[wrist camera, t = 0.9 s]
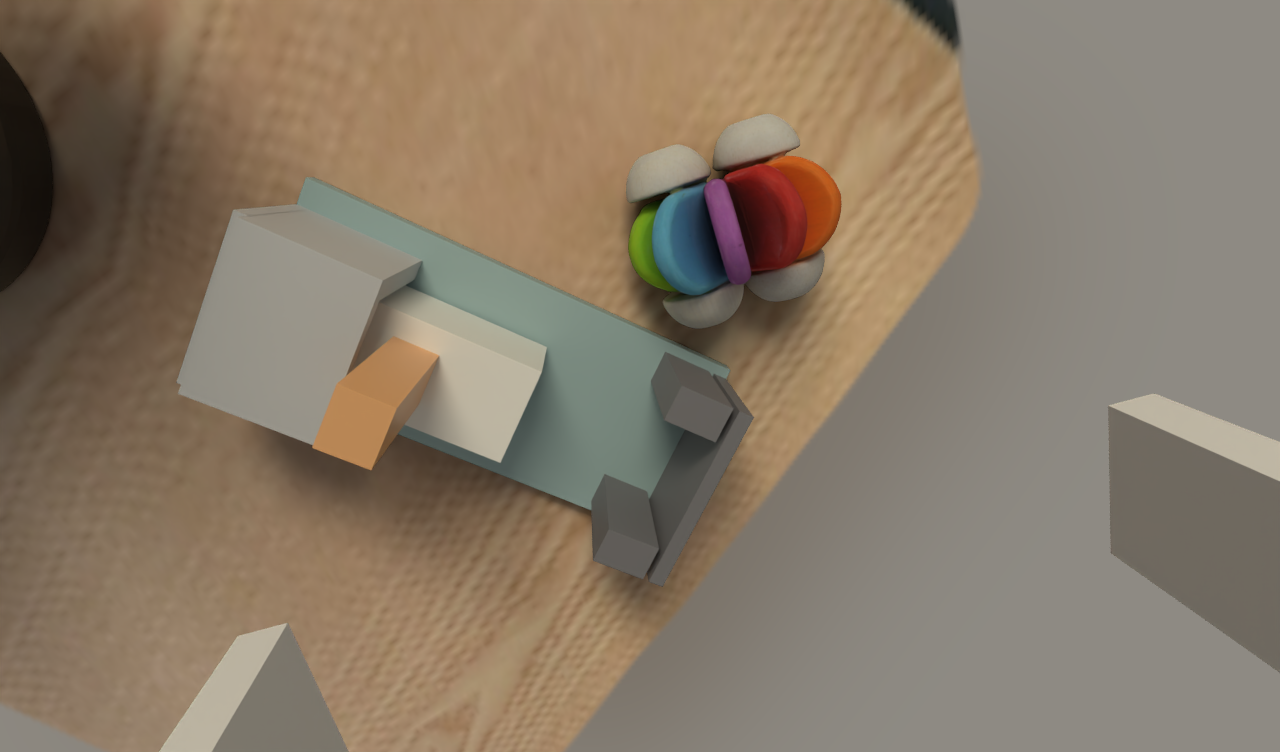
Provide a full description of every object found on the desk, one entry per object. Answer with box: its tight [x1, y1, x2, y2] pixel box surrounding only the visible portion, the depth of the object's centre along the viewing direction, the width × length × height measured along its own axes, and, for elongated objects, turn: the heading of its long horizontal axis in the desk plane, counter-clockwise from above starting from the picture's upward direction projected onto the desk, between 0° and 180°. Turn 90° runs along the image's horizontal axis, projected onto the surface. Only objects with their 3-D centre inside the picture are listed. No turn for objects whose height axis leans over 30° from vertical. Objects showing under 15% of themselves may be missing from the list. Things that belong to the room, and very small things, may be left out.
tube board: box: [176, 177, 754, 587], centre depth 32 cm, size 22×10×8 cm, turn 64°
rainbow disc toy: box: [626, 114, 841, 329], centre depth 31 cm, size 8×10×7 cm
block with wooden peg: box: [312, 285, 547, 470], centre depth 28 cm, size 12×5×12 cm, turn 64°
